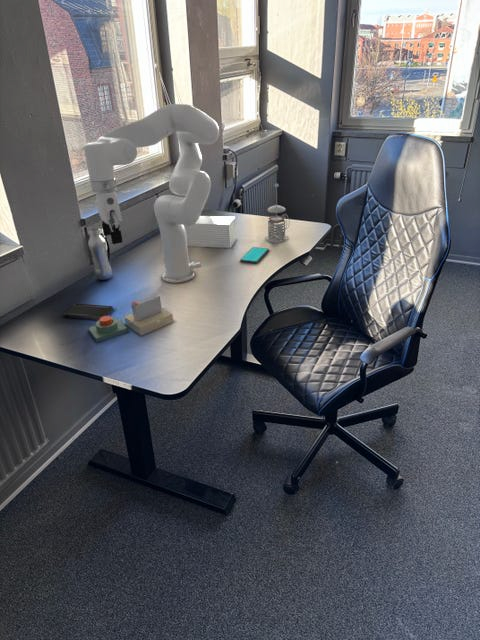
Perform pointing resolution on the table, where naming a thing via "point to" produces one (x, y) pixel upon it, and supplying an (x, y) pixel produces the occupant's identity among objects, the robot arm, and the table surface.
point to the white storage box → (212, 232)
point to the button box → (107, 330)
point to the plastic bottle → (99, 255)
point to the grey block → (146, 307)
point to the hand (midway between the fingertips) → (113, 238)
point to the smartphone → (254, 255)
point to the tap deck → (149, 322)
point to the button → (105, 320)
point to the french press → (276, 219)
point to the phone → (88, 311)
